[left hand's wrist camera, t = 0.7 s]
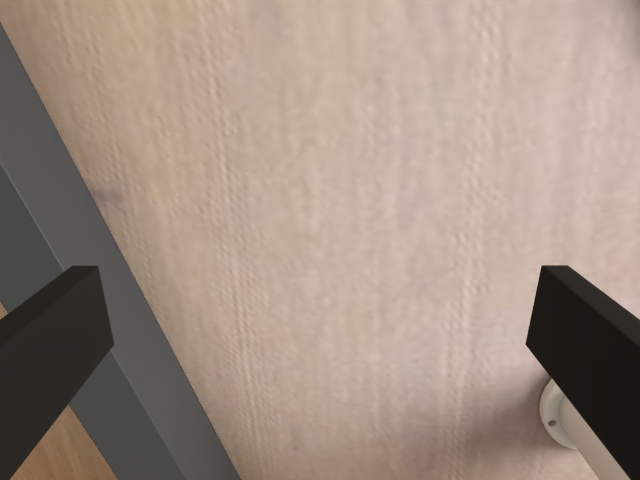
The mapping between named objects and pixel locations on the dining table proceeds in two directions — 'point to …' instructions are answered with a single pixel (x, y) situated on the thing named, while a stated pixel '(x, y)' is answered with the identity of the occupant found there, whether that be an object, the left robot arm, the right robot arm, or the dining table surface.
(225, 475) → the post
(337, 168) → the dining table surface
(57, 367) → the left robot arm
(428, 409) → the dining table surface
